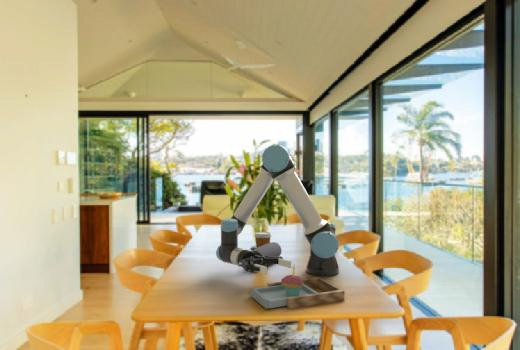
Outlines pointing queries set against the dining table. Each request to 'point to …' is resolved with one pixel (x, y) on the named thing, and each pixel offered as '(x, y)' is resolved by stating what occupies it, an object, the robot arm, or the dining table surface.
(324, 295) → the dock
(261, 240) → the disposable coffee cup
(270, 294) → the tray
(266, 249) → the bluetooth speaker
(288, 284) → the cupcake
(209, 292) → the dining table surface
